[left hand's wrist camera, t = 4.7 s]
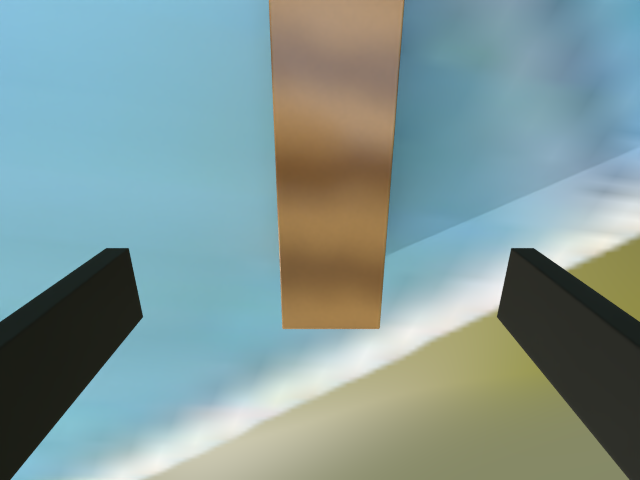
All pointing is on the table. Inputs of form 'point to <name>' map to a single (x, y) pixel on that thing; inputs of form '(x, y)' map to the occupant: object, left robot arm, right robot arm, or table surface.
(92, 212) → the table surface
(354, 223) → the bar
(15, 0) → the table surface
